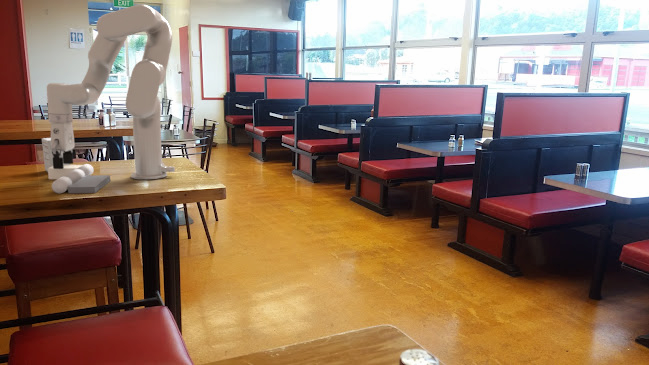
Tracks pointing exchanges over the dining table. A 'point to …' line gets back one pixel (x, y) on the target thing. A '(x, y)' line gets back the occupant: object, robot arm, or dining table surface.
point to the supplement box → (48, 153)
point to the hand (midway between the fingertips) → (63, 166)
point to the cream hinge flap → (69, 170)
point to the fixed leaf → (80, 182)
